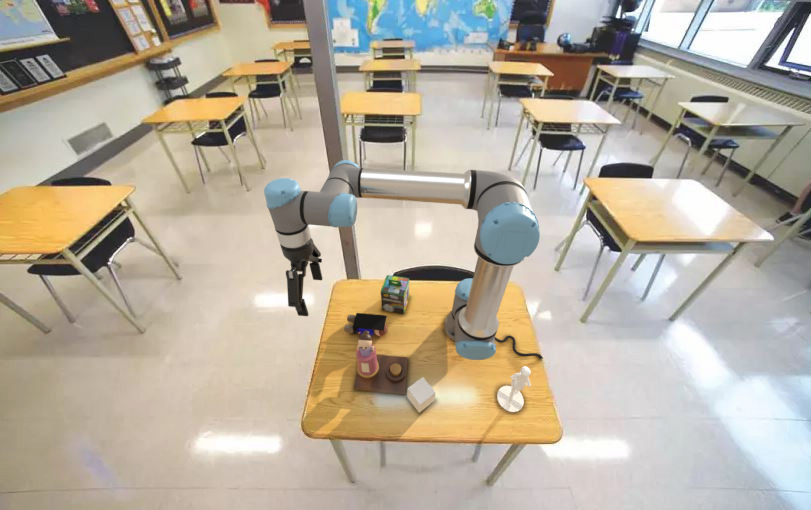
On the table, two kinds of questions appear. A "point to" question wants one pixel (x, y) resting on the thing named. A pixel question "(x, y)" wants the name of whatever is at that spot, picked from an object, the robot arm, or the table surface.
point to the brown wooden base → (385, 377)
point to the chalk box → (395, 294)
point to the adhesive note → (421, 394)
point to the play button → (395, 369)
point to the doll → (366, 356)
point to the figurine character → (367, 324)
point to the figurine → (514, 391)
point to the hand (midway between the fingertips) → (311, 296)
